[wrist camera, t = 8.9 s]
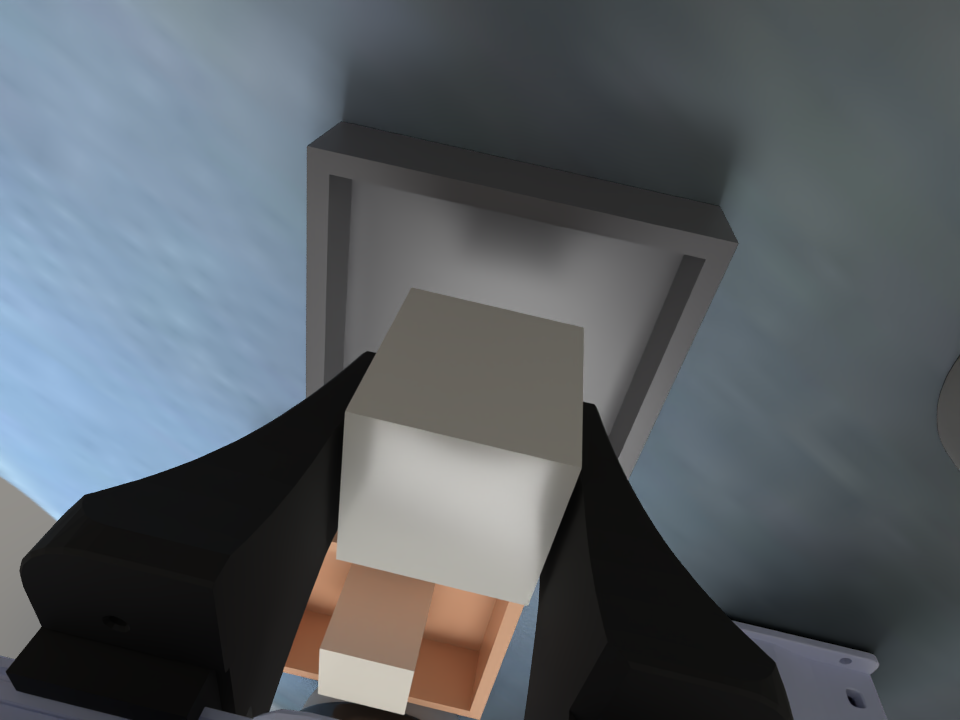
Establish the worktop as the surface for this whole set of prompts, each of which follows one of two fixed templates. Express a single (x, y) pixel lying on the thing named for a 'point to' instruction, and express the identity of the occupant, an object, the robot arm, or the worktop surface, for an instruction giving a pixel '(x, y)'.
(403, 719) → the dark grey rounded dome
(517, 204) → the parts tray
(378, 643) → the stone
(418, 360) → the stone
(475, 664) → the terracotta dish
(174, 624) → the robot arm
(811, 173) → the worktop surface
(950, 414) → the coffee mug
